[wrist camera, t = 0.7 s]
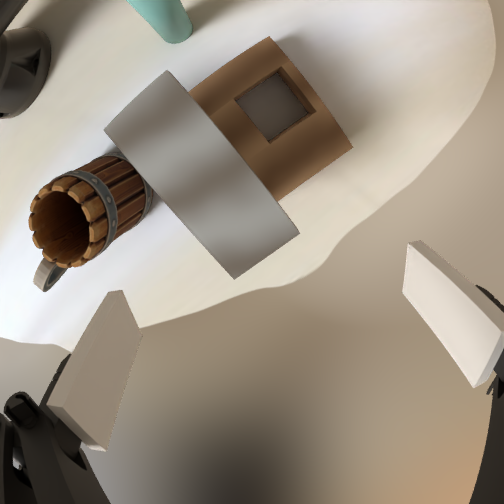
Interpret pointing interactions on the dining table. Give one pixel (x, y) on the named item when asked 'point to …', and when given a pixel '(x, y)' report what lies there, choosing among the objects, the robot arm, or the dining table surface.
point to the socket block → (228, 154)
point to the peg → (165, 18)
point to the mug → (86, 214)
